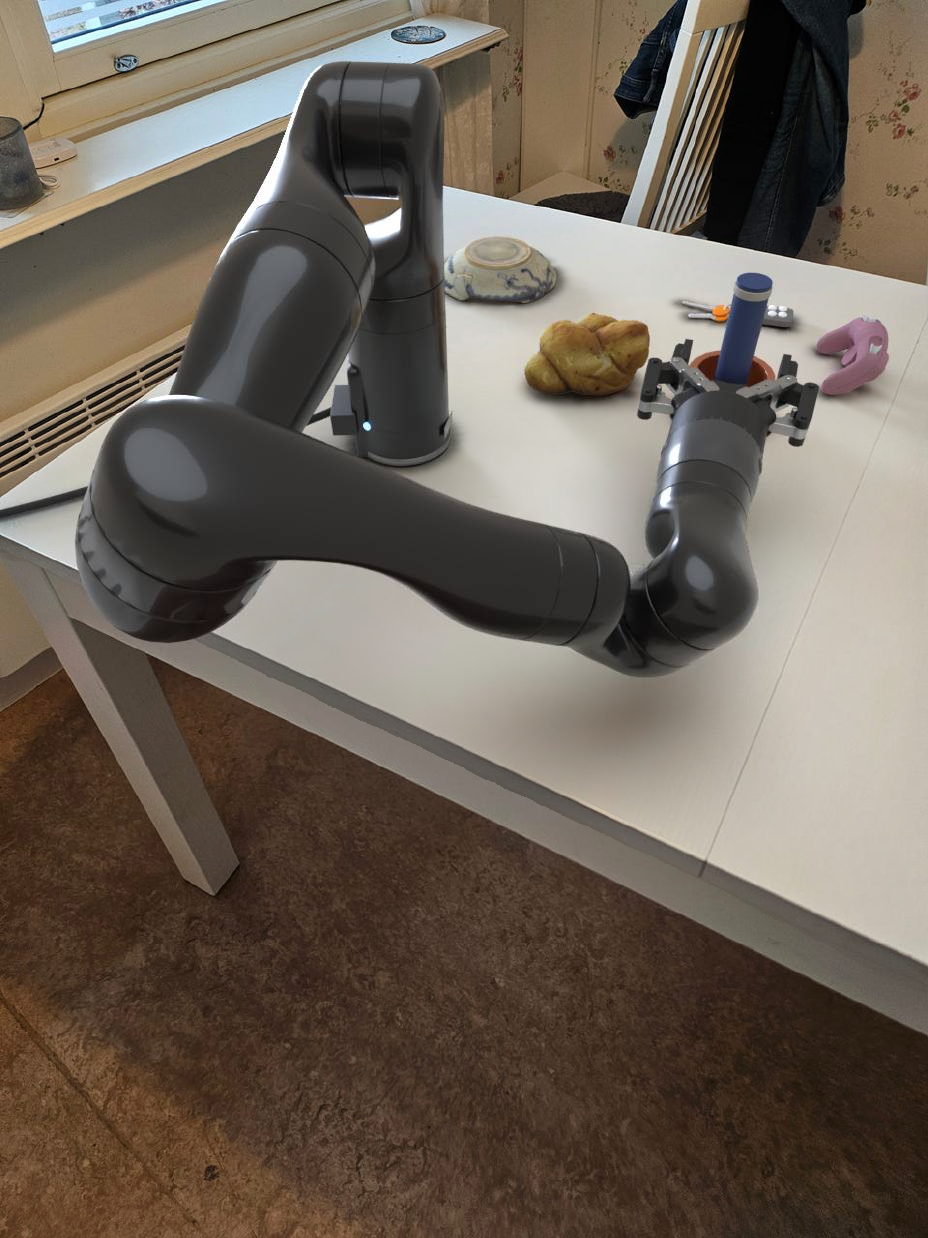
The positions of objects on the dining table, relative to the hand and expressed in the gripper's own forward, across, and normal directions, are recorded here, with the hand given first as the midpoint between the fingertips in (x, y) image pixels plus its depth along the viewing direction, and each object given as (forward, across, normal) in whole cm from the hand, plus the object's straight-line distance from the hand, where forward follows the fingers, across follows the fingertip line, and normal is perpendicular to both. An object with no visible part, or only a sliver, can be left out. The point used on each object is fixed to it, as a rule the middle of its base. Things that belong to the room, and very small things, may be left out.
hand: (736, 355), depth 78 cm
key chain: (+28, -1, -11) cm, 30 cm away
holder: (+7, 0, -11) cm, 13 cm away
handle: (+7, 0, -10) cm, 13 cm away
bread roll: (+9, -16, -11) cm, 21 cm away
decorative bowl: (+29, -31, -11) cm, 44 cm away
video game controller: (+19, +12, -11) cm, 25 cm away
